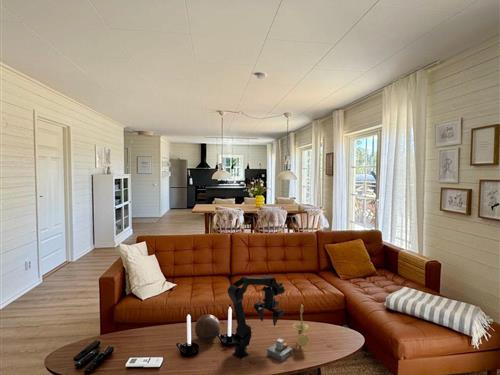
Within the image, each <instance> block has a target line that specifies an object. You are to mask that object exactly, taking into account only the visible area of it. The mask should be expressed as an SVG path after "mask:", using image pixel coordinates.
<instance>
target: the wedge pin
mask: <svg viewBox="0 0 500 375" xmlns="http://www.w3.org/2000/svg"><path fill="white" fill-rule="evenodd" d="M284 343H285V340H284V339H283V338H278V339H276V342H275V344H276V350H277V351H279V352H282V351H283V350H284Z"/></svg>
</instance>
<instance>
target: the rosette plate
mask: <svg viewBox="0 0 500 375" xmlns="http://www.w3.org/2000/svg"><path fill="white" fill-rule="evenodd" d="M266 353H267V354H266V355H267V356H269V357H271V358H274V359H276V360H278V361H280V362H284V361H285V360H286V359H287V358H289V357H291V355H292V354H293V348H292V347H290V346H289V344H288V343H286V342H284V350H283V351H282V352H279V351H277V350H276V343H274V344H273V345H271V346H269V347H268V348H267V350H266Z"/></svg>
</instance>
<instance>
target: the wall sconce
mask: <svg viewBox="0 0 500 375" xmlns="http://www.w3.org/2000/svg"><path fill="white" fill-rule="evenodd" d="M299 311H300V313H299V315H300V322H294V323H293V324H292V328H294V329H295V330H298V333H297V334H298V335H297V337H296V342H297V344H298V345H299V347H304V346H306V345H308V343H309V336H307V334H305V333H304V331H307V330H308V329H309V325H308V324H307V323H304V322H303V313H304V305H303V304H300V309H299Z"/></svg>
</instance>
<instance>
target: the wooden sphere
mask: <svg viewBox="0 0 500 375" xmlns="http://www.w3.org/2000/svg"><path fill="white" fill-rule="evenodd" d="M220 330H221V324H220V321H219V319H218V318H217V317H216V316H214V315H212V314H203V315H202V316H200V317H199V318H198V319H197V320H196V322H195V325H194V333H195V336H196V337H197V339H198V340H200V341H202V342H203V343H204V342H206V343H208V342H212V341H215V339H216V338H217V337H218V336H219V334H220V332H221V331H220Z"/></svg>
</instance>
